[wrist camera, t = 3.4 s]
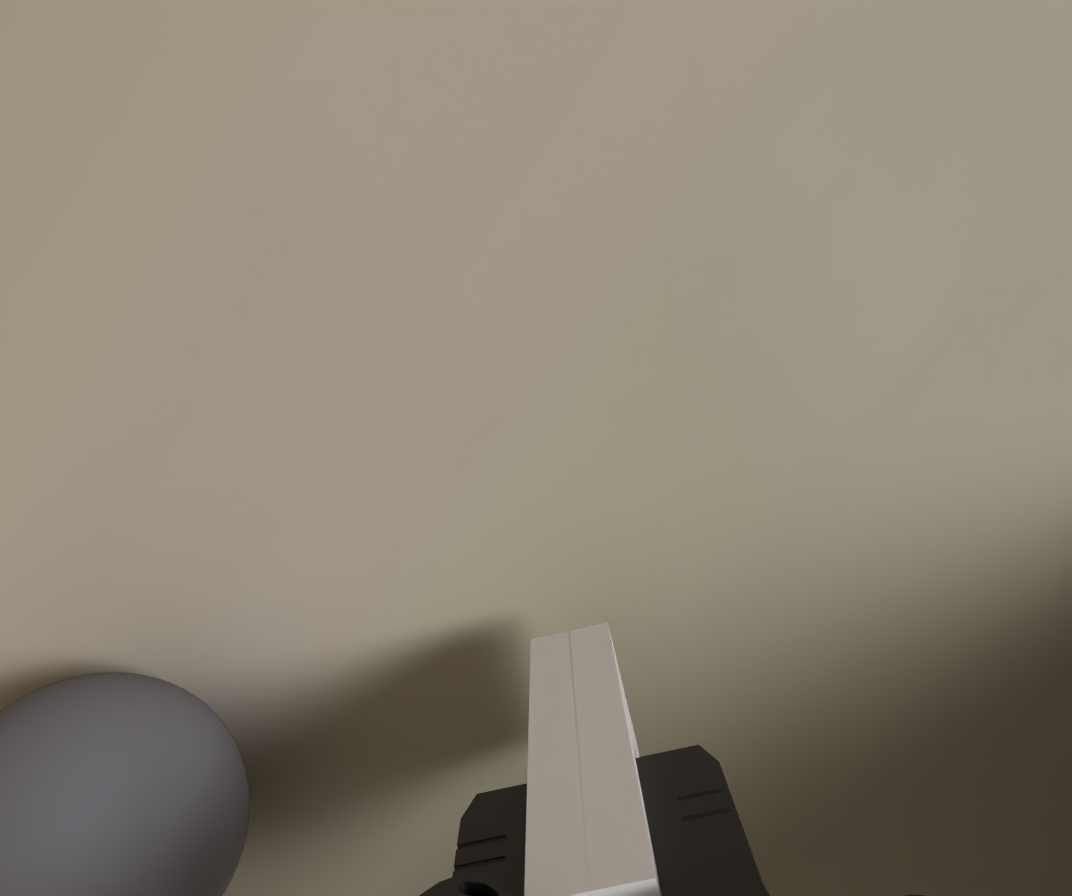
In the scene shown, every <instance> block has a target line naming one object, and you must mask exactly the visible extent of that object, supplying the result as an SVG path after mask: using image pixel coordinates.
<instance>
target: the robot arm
mask: <svg viewBox="0 0 1072 896" xmlns="http://www.w3.org/2000/svg"><path fill="white" fill-rule="evenodd" d="M457 846H458V849H457V850H456V857H455V864H454V867H455V871H453V877H452V878H449V879H447V880H444V881H441V882H439V883H437V884H436V885H434V886H433V887H431V888H430V889H428V890H427V891H425V892H424V893H422V894H421V895H420V896H769V894H768V893H767V891H766V889H765V887H764V885H763V883H762V880H761V877H760V874H759V872H758V869H757V866H756V863H755V861H754V858H753V855H752V852H751V849H750V847H749V844H748V841H747V838H746V835H745V833H744V830H743V827H742V824H741V822H740V819H739V816H738V813H737V810H736V809H735V805H734V802H733V799H732V796H731V794H730V791H729V789H728V785H727V783H726V780H725V777H724V774H723V771H722V769H721V766H720V763H719V762H718V761H717V760H716V759H715V758H714V757H712V756H711V755H710V754H709V753H708V752H707V751H705V750H704V749H703V748H702V747H701V746H699V745H695V746H691V747H686V748H681V749H676V750H672V751H667V752H662V753H657V754H653V755H648V756H643V757H640V756H639V751H638V746H637V742H636V738H635V734H634V730H633V725H632V721H631V717H630V713H629V709H628V705H627V700H626V696H625V692H624V688H623V684H622V680H621V675H620V671H619V667H618V663H617V659H616V655H615V650H614V646H613V642H612V638H611V634H610V630H609V625H608V622H606V623H602V624H597V625H593V626H588V627H583V628H579V629H574V630H570V631H565V632H561V633H556V634H552V635H547V636H543V637H538V638H534V639H531V652H530V691H529V730H528V769H527V784H522V785H517V786H513V787H508V788H503V789H499V790H494V791H489V792H484V793H480V794H477V795H476V796H475V798H474V799H473V801H472V802H471V804H470V806H469V807H468V809H467V810H466V812H465V813H464V815H463V816H462V818H461V822H460V829H459V836H458V843H457ZM906 896H922V895H906Z"/></svg>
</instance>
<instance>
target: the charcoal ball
mask: <svg viewBox="0 0 1072 896" xmlns="http://www.w3.org/2000/svg"><path fill="white" fill-rule="evenodd" d="M248 821H249V787H248V779H247V774H246V770H245V766H244V763H243V759H242V756H241V753H240V751H239V749H238V746H237V744H236V742H235V740H234V738H233V737H232V735H231V734H230V732H229V730H228V729H227V727H226V726H225V724H224V723H223V722H222V721H221V719H220V718H219V717H218V716H217V714H216V713H215V712H214V711H213V710H212V709H211V708H210V707H209V706H207V705H206V704H205V703H204V702H202V701H201V700H200V699H199V698H197V697H196V696H194V695H193V694H191V693H189V692H188V691H186V690H185V689H183V688H180V687H178V686H176V685H174V684H172V683H169V682H166V681H163V680H160V679H157V678H153V677H148V676H144V675H139V674H131V673H100V674H90V675H84V676H78V677H74V678H71V679H67V680H64V681H60V682H57V683H54V684H50V685H47V686H45V687H43V688H41V689H38V690H36V691H34V692H32V693H30V694H28V695H26V696H24V697H22V698H20V699H18V700H16V701H15V702H13V703H12V704H10V705H8V706H7V707H5V708H4V709H2V710H1V711H0V896H222V895H223V894H224V892H225V890H226V888H227V886H228V884H229V882H230V881H231V879H232V877H233V874H234V872H235V869H236V867H237V865H238V862H239V859H240V856H241V853H242V850H243V847H244V842H245V838H246V833H247V827H248Z"/></svg>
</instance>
